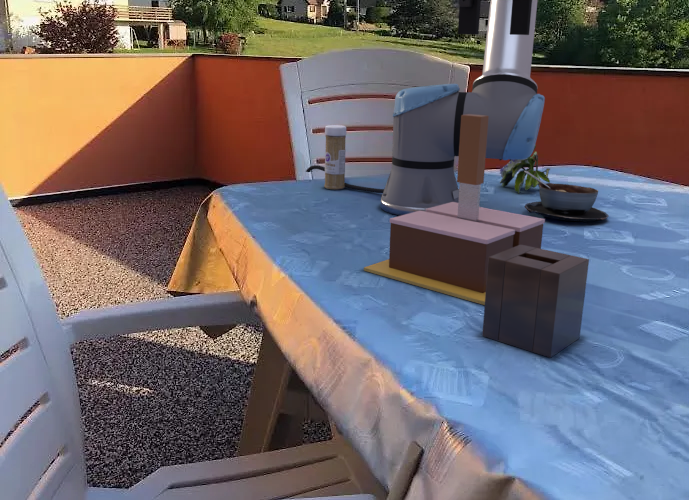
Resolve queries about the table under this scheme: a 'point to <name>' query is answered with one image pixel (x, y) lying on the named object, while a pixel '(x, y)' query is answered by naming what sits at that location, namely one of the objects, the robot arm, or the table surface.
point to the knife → (471, 164)
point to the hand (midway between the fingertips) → (494, 34)
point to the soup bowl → (566, 202)
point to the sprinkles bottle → (335, 157)
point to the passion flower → (516, 165)
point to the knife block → (535, 299)
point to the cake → (453, 248)
